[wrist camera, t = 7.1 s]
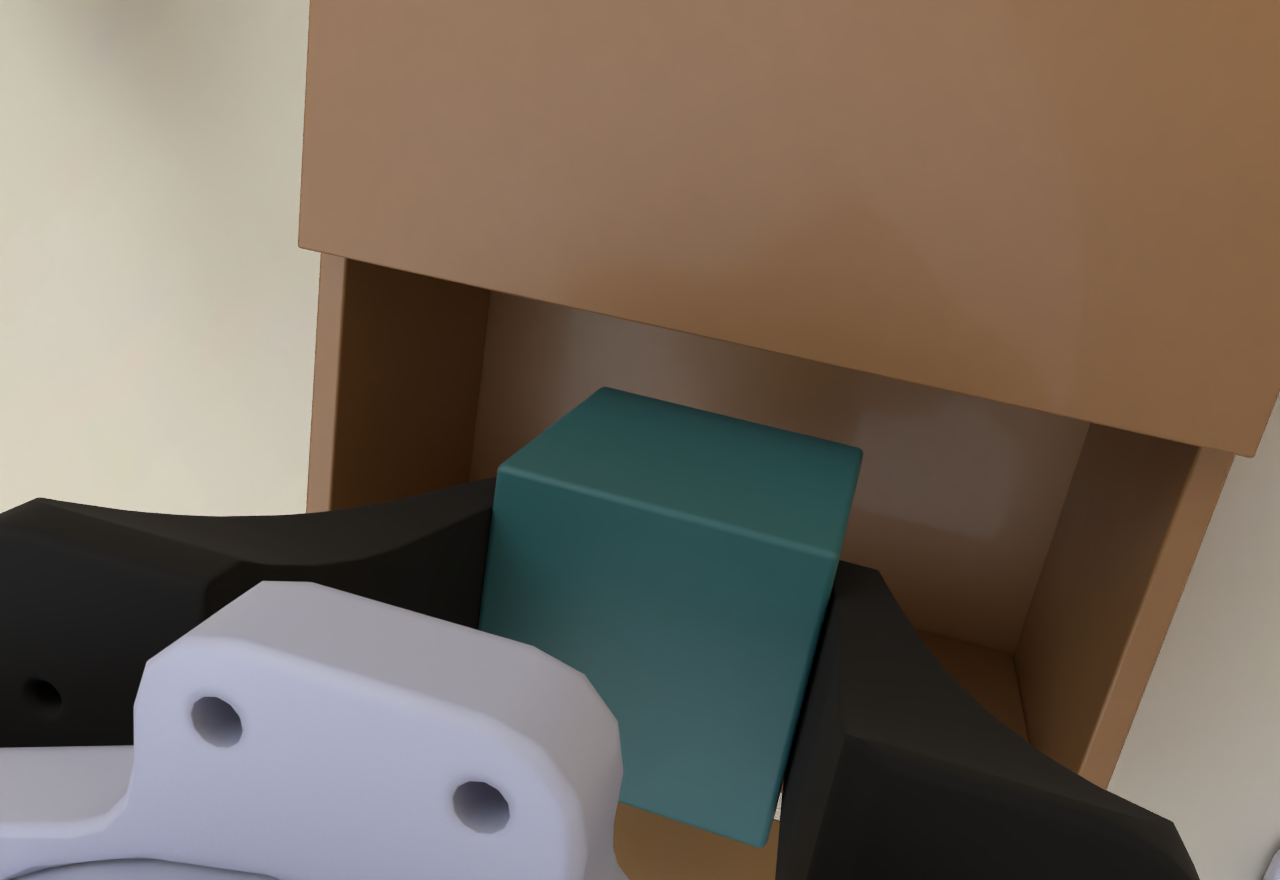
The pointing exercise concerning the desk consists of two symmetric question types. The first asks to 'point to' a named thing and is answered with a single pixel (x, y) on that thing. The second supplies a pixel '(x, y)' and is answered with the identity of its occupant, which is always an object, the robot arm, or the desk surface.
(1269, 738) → the desk surface
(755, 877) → the flap
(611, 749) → the robot arm
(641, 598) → the block
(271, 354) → the desk surface
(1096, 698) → the carton
